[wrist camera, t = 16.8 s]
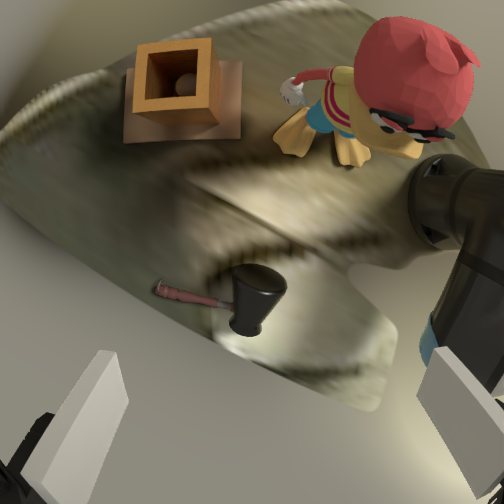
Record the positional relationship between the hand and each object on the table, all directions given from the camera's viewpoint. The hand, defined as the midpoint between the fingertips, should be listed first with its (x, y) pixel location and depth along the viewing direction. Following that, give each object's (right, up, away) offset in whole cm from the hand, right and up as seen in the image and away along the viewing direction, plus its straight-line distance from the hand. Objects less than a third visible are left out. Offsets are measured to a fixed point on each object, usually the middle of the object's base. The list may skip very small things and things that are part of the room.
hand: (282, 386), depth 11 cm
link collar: (-9, +25, +25) cm, 37 cm away
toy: (+9, +22, +28) cm, 37 cm away
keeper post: (-11, +26, +26) cm, 38 cm away
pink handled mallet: (-6, +1, +34) cm, 35 cm away
